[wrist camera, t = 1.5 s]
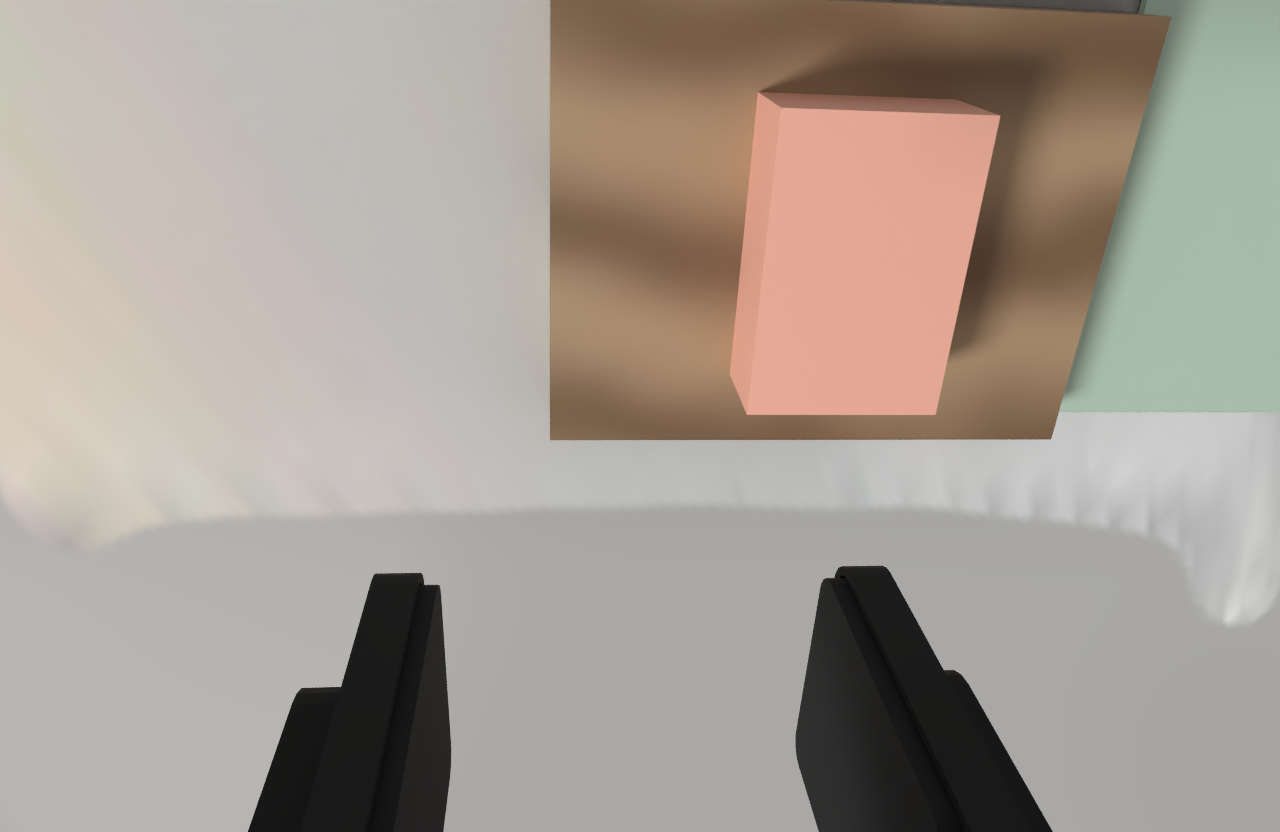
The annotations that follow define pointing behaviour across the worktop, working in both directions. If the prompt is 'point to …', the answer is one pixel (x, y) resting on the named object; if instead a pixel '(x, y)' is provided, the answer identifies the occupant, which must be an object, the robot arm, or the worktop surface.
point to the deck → (718, 189)
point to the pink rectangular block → (856, 251)
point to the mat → (1194, 229)
